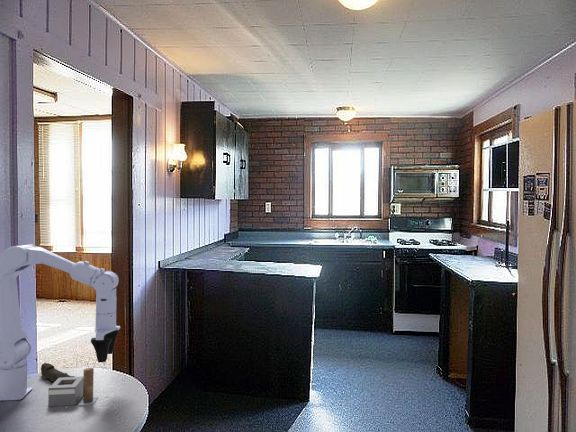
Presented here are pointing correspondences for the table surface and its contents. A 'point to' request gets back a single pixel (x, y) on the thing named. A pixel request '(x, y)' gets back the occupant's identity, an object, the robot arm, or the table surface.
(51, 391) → the gray hollow box
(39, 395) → the table surface
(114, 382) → the table surface
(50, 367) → the brown rough rod
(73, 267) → the robot arm
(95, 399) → the pad
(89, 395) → the wooden rod
